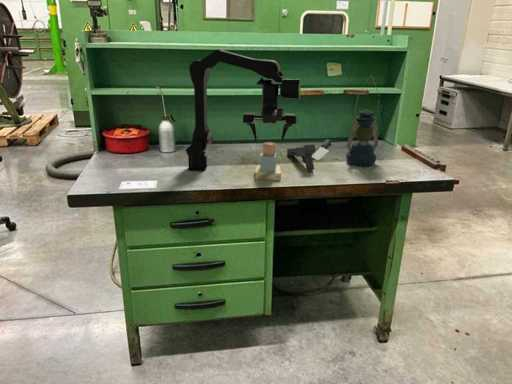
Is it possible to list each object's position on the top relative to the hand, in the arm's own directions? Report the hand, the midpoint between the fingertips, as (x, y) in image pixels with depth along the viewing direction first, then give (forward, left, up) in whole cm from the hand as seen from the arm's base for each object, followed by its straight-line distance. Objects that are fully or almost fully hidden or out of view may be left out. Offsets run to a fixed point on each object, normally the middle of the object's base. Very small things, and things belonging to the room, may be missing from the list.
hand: (268, 141), depth 153 cm
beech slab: (0, -2, -12) cm, 12 cm away
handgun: (+13, +15, -13) cm, 23 cm away
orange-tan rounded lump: (0, -2, -4) cm, 5 cm away
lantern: (+38, +17, -12) cm, 43 cm away
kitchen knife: (+25, +33, -13) cm, 43 cm away
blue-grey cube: (0, -3, -10) cm, 10 cm away
